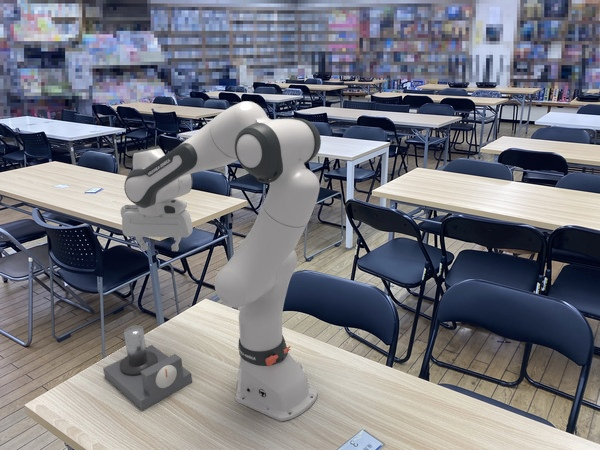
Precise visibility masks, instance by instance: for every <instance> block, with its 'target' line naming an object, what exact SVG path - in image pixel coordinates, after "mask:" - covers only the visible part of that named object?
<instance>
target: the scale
mask: <svg viewBox="0 0 600 450" xmlns="http://www.w3.org/2000/svg"><path fill="white" fill-rule="evenodd" d="M146 351H147V358H148V361H147V362H146V363H145V364H144V365H142V366H139V367H132V366H130V365H129V362H128V355H126V356H125V357H123V358H122V359H121V358H120V359H119V360H117V361H115V362H112V363H111V364H109V365H107V366H105V367H103V369H102V370H103V374H104V378H105V379H106V380H107V381H108V382H109V383H111V384H112V385H113V386H114V388H116V389H117V390H118V391H120V393H122V394H123V396H125V397H126V398H127V399H129V400H130V401H131V402H132V403H133V404H134V405H135V406H136V407H137V408H139V409H140V410H141V412H144V411H145V410H147V409H149V408H150V407H152V406H154V405H155V404H157V403H159V402H161V401H162V400H164V399H166V398H168V397H169V396H171V395H173V394H174V393H176V392H178V391H179V390H181V389H183V388H185V387H186V386H188V385H190V384H191V383H193V376H192V372H191V371H189V370H188V369H187V368H185V367H184V366H183V362H182V357H180V356H179V355H177V354H176V353H174V354H172V355H170V356H168V355H167V354H166V353H164V352H163V351H161V350H160V349H158V348H157V347H155V346H154V345H153V344H151V345H148V346H146Z"/></svg>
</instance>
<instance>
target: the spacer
mask: <svg viewBox="0 0 600 450" xmlns="http://www.w3.org/2000/svg"><path fill="white" fill-rule="evenodd" d="M123 336H124V342H125V347H126V354H127V355H126V356H128V362H129V365H130V366H132V367H139V366H142V365H144V364H145V363H146V362H147V361H148V358H147V351H146V347H147V345H146V339H145V337H146V336H145V331H144V327H143V326H142V325H137V324H135V325H131V326H130V325H129V326H128V327H126V328H125V329H124V330H123Z"/></svg>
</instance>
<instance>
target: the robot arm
mask: <svg viewBox="0 0 600 450" xmlns="http://www.w3.org/2000/svg"><path fill="white" fill-rule="evenodd" d="M321 141H322V139H321V133H320V131H319V129H318V128H317V127H316V126H315V124H313V122H311V121H309V120H306V119H303V118H300V117H299V118H298V117H284V116H283V117H282V116H281V117H279V118H276V119H275V118H274V119H271V118H270V117H268V115H267V113H266V111H265V110H264V109H263V108H262V107H261V106H260V105H259V104H258V103H255V102H254V101H251V100H249V101H247V100H246V101H244V100H243V101H241V102H238V103H235V104H234V105H232V106H230V107H228V108H227V109H225V110H223V111H222V112H220V113H219V114H217V115H216V116H215V117H214V118H212V119H211V120H210V121H209V122H207V123H206V124H205V125H203V127H201V128H200V129H199V130H198V131H196V132H195V133H194V134H193V135H191V136H190V137H188V138H187V139H186V140H184V141H183V142H182V143H180V144H179V145H178V146H176V147H174V148H173V149H172V150H170V151H169V152H167V153H164V151H163V150H162V148H160V147H152V148H151V147H150V148H147V149H146V148H145V149H140V150H137V151H135V152H134V153H133V156H132V170H130V171H129V172H128V174H127V175H126V178H125V180H124V185H123V187H124V192H125V195H126V197H127V198H128V200H129V201H130V202H131V203H132V204H124V206H122V207H121V208H120V217H121V218H122V219H121V228H122V229H121V230H122V234H123V235H124V236H125V237H133V238H134V237H135V241H136V242H137V244H138V245H140V250H141V251H148V250H149V244H148V242H145V240H144V238H146V237H148V238H149V237H150V238H151V237H152V238H173V240H174V241H175V242H174V243H172V245H171V246H170V247H171V251H172V252H179V249H180V247H179V244H180V242H181V240H182V238H188V237H190V236H191V234H192V233H193V231H194V230H193V222H192V218H191V214H190V212H189V211H188V210H187V207H188V206H187V205H188V204H187V201H185V200H183V199H179V197H183V196H185V195H187V194H189V193H190V192H191V191H192V188H193V184H194V179H193V174H195V173H198V172H199V173H200V172H203V171H209V170H214V169H218V168H222V167H224V166H225V167H226V166H227V165H230V164H232V163H235V162H239V164H240V165H241V167H242V168H243V169H244V170H245V171H246V172H247V173H248V174H250V175H251V176H253V177H254V178H255V179H256V180H257V181H258V182H260V183H262V184H269V187H268V191H267V193H266V197H265V199H264V201H263V203H262V205H261V207H260V210H259V212H258V214H257V217H256V219H255V221H254V223H253V226H252V227H251V229H250V231H249V232H248V234H247V235H246V236H245V238H244V239H243V241H242V242H241V243H240V245H238V247H237V249H236V250H235V252H234V254H233V255H232V256H231V257H230V259H229V260H228V262H227V263H225V265H224V266H223V267H222V268H221V269H220V270H219V271H218V272H217V274H216V275H215V278H214V289H215V293H216V295H217V297H218V298H219V300H221V302H222V303H224V304H225V305H226V306H229V307H231V308H240V309H239V313H238V326H239V330H238V331H239V338H238V347H237V348H238V353H239V356H240V358H239V359H240V360H239V365H238V373H237V374H238V376H237V383H236V394H235V398H234V399H235V402H237V403H239V404H241V405H243V406H246V407H247V408H250V409H252V410H255V411H257V412H259V413H260V414H263V415H266V416H268V417H270V418H272V419H275V420H277V421H279V422H284V421H285V422H286V421H289V420H293V419H294V418H297V417H298V416H300V415H301V414H303V413H304V412H306V411H307V410H308V409H309V408H310V407H312V405H313V404H314V403H315V402H316V400H317V399H318V391H317V389H316V388H315V387H314V386H312V385H311V384H310V383H309V381H308V377H307V374H306V372H305V371H304V370H303V365H302V362H300V361H298V362H297V361H296V360H295V359H294V357H293V356H292V355H291V353H290V351H291V345H289V346H287V343H286V340H285V337H284V335H283V310H284V304H285V300H286V296H287V293H288V288H289V284H290V281H291V278H292V276H293V274H294V272H295V270H296V269H297V266H298V256H297V252H296V250H295V249H296V247H297V245H298V243H299V241H300V239H301V237H302V236H303V233H304V231H305V229H306V227H307V225H308V224H309V222H310V219H311V218H312V215H313V212H314V209H315V207H316V203H317V202H318V197H319V193H320V188H321V187H320V185H321V184H320V181H319V178H318V177H317V176H316V174H315V173H314V172H313V171H311V170H310V169H308V168H307V167H306V164H308V163H310V162H311V161H312V160H313V159H314V158H315V157H317V155H318V153H319V152H320V149H321V145H322V144H321V143H322V142H321Z"/></svg>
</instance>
